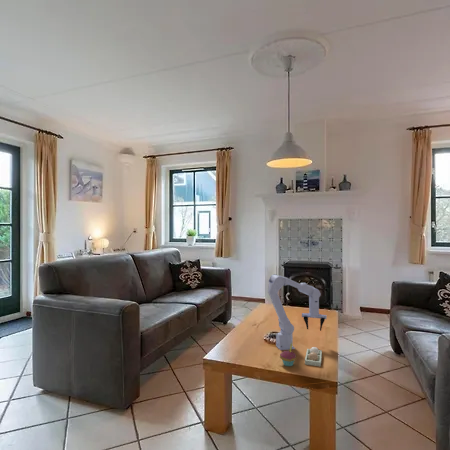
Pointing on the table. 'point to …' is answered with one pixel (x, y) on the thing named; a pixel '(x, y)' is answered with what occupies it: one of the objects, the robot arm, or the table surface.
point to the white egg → (314, 350)
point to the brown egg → (313, 356)
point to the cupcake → (288, 357)
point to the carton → (314, 363)
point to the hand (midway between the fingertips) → (314, 329)
